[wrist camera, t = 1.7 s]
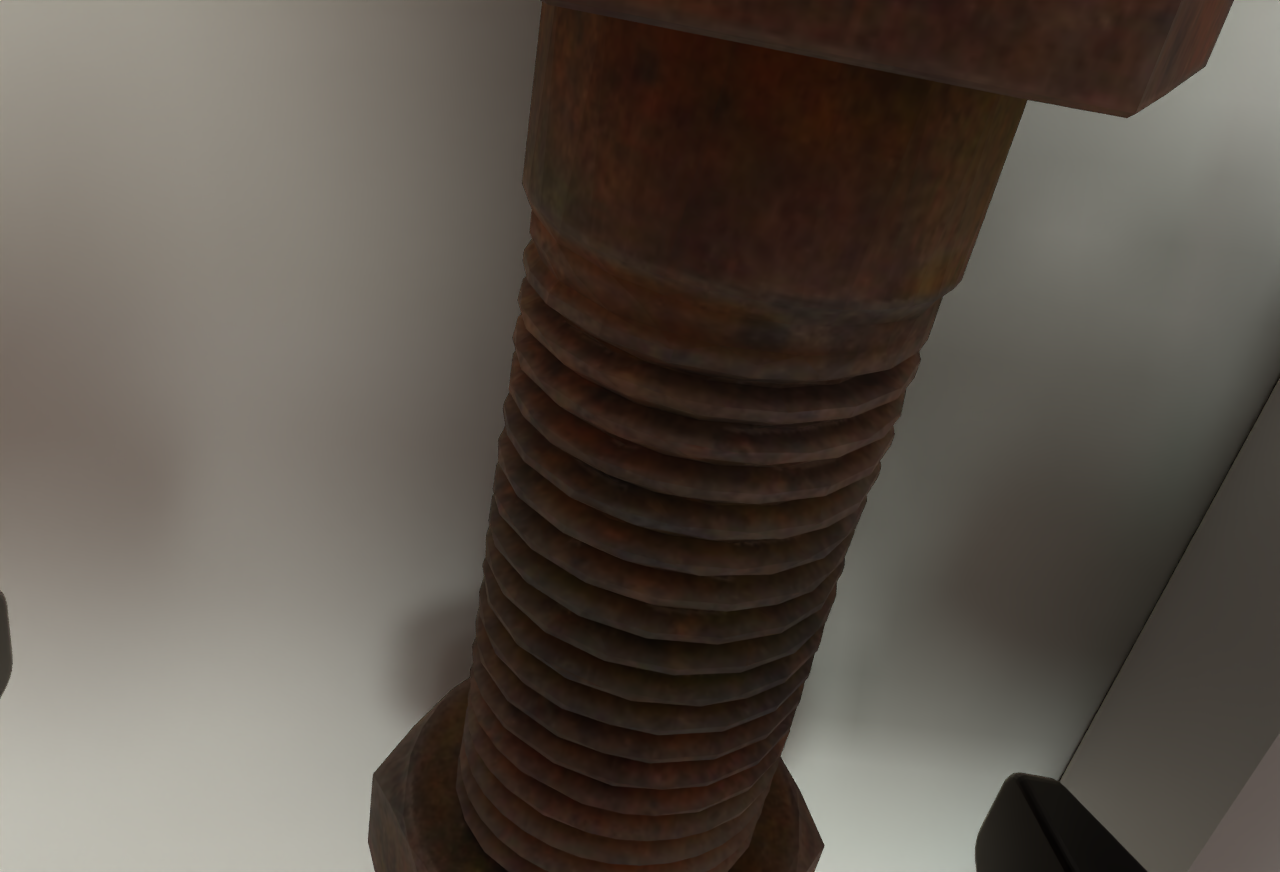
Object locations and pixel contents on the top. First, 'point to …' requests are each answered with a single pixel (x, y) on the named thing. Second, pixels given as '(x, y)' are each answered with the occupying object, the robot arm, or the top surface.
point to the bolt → (718, 397)
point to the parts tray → (1202, 693)
